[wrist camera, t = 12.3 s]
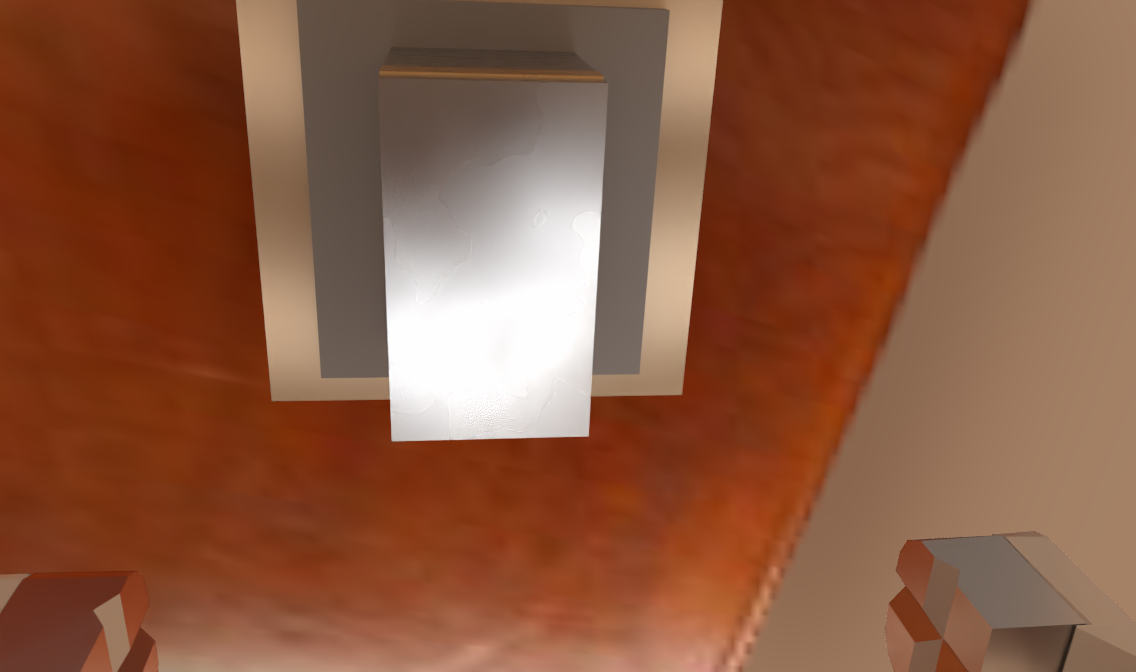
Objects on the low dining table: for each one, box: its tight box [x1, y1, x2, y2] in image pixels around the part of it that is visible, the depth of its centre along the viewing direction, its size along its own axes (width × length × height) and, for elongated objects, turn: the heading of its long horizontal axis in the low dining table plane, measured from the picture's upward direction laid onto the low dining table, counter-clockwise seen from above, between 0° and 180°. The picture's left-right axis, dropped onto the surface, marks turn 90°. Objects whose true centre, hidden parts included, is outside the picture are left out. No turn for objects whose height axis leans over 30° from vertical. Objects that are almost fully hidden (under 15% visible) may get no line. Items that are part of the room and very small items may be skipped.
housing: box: [378, 47, 608, 441], centre depth 22 cm, size 4×8×5 cm, turn 178°
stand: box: [236, 0, 723, 401], centre depth 27 cm, size 12×12×5 cm
